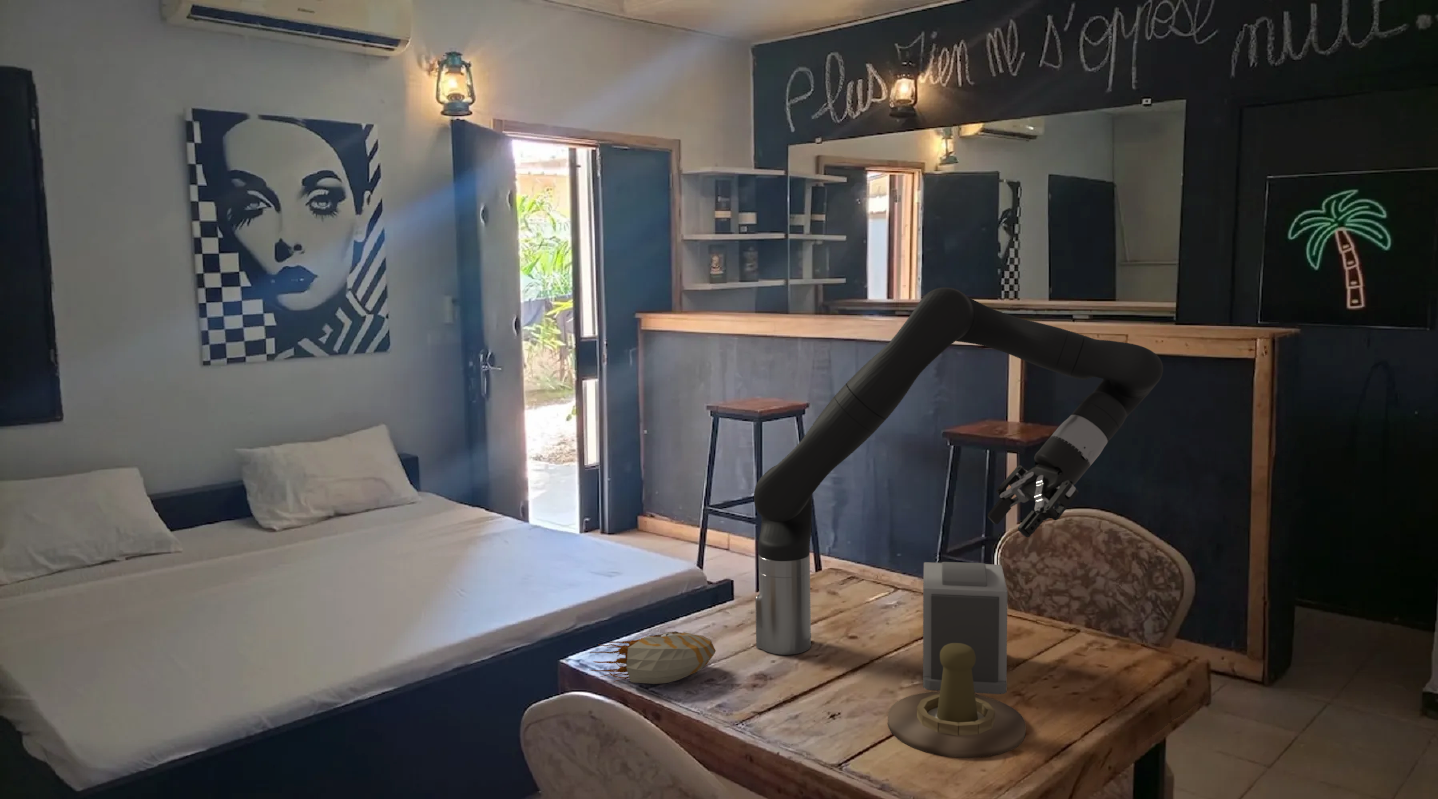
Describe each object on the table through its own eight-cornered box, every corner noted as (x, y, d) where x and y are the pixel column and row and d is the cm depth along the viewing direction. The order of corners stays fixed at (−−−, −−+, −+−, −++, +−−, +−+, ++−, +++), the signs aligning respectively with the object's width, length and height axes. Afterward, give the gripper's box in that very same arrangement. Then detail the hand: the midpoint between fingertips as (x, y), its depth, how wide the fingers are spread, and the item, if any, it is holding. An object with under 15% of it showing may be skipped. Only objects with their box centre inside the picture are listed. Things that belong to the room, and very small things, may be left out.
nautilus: (578, 694, 171) (607, 664, 186) (703, 694, 166) (724, 664, 181) (574, 647, 170) (604, 620, 185) (700, 646, 166) (721, 619, 180)
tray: (872, 744, 149) (872, 726, 149) (905, 691, 168) (905, 675, 167) (1015, 767, 141) (1015, 749, 141) (1033, 709, 159) (1033, 692, 159)
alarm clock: (1007, 694, 165) (1008, 583, 163) (923, 689, 168) (923, 580, 166) (999, 652, 183) (1000, 551, 181) (923, 648, 186) (923, 549, 184)
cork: (979, 710, 157) (980, 640, 155) (976, 727, 151) (976, 655, 149) (939, 706, 159) (939, 636, 157) (934, 722, 153) (934, 651, 151)
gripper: (1030, 428, 170) (967, 502, 168) (1086, 442, 156) (1018, 522, 154) (1057, 457, 172) (995, 531, 170) (1114, 473, 159) (1047, 553, 157)
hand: (1006, 527), depth 162 cm, fingers open, 8 cm apart
